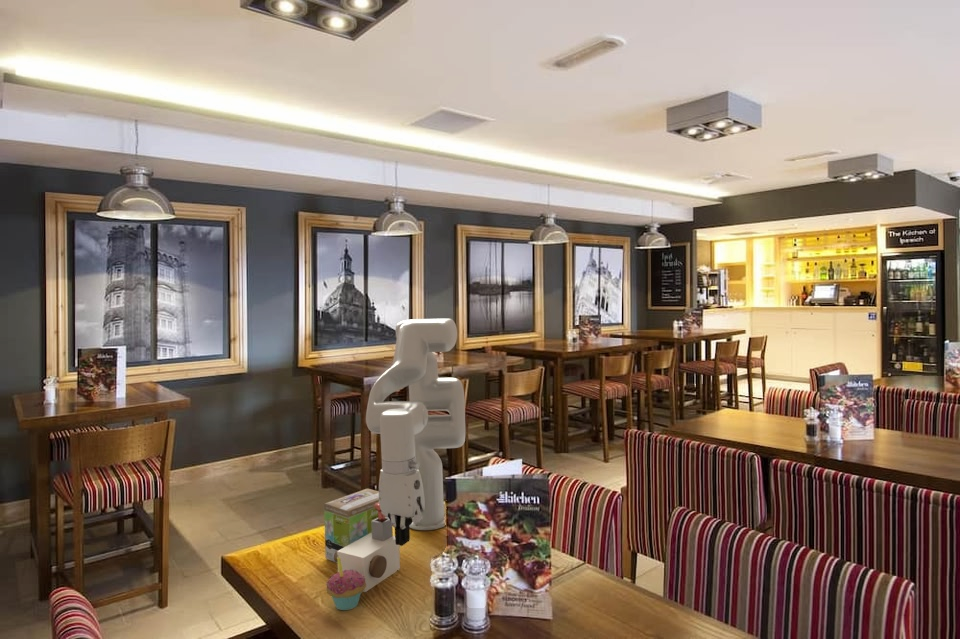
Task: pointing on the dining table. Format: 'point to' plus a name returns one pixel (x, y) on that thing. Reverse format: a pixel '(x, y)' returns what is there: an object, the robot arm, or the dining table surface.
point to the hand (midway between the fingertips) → (402, 542)
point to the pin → (374, 565)
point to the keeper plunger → (379, 513)
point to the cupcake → (345, 587)
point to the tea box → (349, 520)
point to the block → (372, 552)
